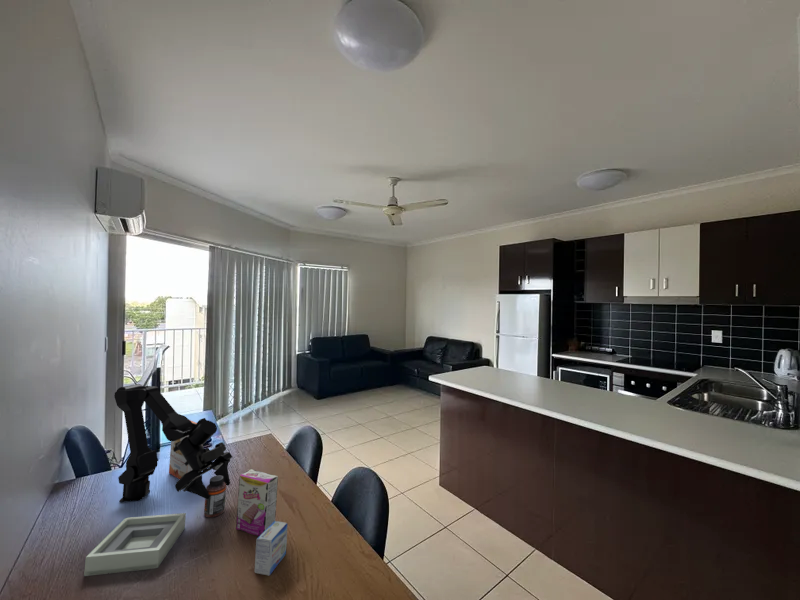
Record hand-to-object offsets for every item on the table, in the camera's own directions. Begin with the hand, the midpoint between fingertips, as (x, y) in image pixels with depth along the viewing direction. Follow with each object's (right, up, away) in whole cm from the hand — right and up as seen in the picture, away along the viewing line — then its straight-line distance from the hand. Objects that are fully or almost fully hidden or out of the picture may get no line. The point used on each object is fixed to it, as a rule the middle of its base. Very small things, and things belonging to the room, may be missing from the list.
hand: (219, 491), depth 106 cm
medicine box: (+25, -7, -21) cm, 34 cm away
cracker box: (-27, -8, +23) cm, 36 cm away
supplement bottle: (-2, -7, 0) cm, 7 cm away
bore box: (-12, -6, -18) cm, 22 cm away
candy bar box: (+15, -8, -8) cm, 19 cm away
